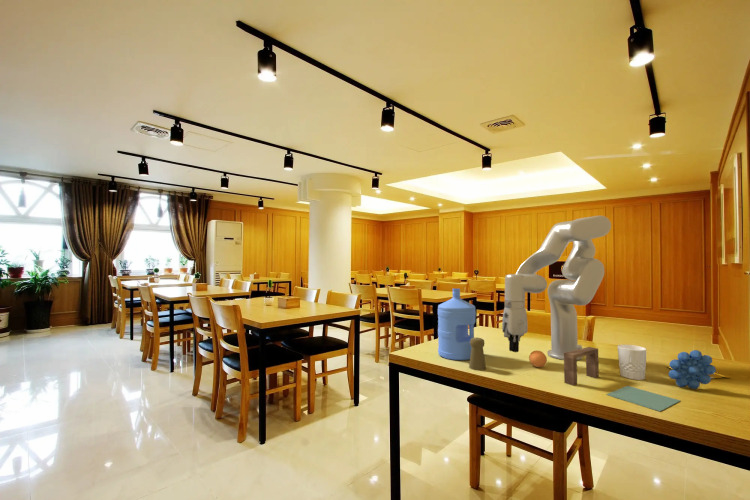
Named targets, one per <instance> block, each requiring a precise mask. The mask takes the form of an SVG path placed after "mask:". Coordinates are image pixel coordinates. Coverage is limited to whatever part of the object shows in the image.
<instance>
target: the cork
mask: <svg viewBox="0 0 750 500" xmlns="http://www.w3.org/2000/svg"><path fill="white" fill-rule="evenodd" d="M470 345H471V347H472V348H471V356H470V359H469V364H468V365H469V367H468V368H469V369H471V370H473V371H485V370H486V369H487V367H486V366H487V365H486V360H485V353H484V352H485V351H484V346H485V340H484V339H483V338H482V337H481V338H480V337H474V338H472V339H471V340H470Z"/></svg>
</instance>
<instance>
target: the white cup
mask: <svg viewBox="0 0 750 500" xmlns="http://www.w3.org/2000/svg"><path fill="white" fill-rule="evenodd" d="M617 355H618V357H617V358H618V366H619V373H620V376H621V377H623V378H625V377H626V379H630V380H635V381H643V380H645V379H646V370H647V369H646V368H647V348H646V347H643V346H640V345H635V344H618V345H617Z"/></svg>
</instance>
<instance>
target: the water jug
mask: <svg viewBox="0 0 750 500" xmlns="http://www.w3.org/2000/svg"><path fill="white" fill-rule="evenodd" d="M476 314H477V313H476V306H475V305H474V304H471V303H470V302H469V301H466V300H464V299H462V298H461V288H452V297H451V298H450V299H448V300H447V301H444V302H442V303H440V304H438V305H437V318H438V320H437V323H438V324H437V337H438V341H437V342H438V344H437V345H438V347H437V352H438V356H440V357H442V358H445V359H447V360H452V361H454V360H455V361H468V360H469V361H470V356H471V348H472V347H471V345H470V340H471V339H472V338H475V323H476V317H477V315H476Z"/></svg>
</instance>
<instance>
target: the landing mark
mask: <svg viewBox="0 0 750 500" xmlns="http://www.w3.org/2000/svg"><path fill="white" fill-rule="evenodd" d="M606 396H609V397H612V398H616V399H618V400H622V401H623V402H624V401H625V402H627V403H631V404H633V405H634V404H635V405H637V406H641V407H644V408H648V409H651V410H653V411H657V412H660V411H661V412H663V411H665V410H666V409H668V408H670V407H672V406H674V405H676V404H677V403H680V402H681V400H680V399H677V398H673V397H670V396H666V395H662V394H658V393H655V392H652V391H647V390H644V389H640V388H637V387H634V386H631V385H626V386H622V387H621V388H618V389H616V390H613V391H611V392H609V393H606Z"/></svg>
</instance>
